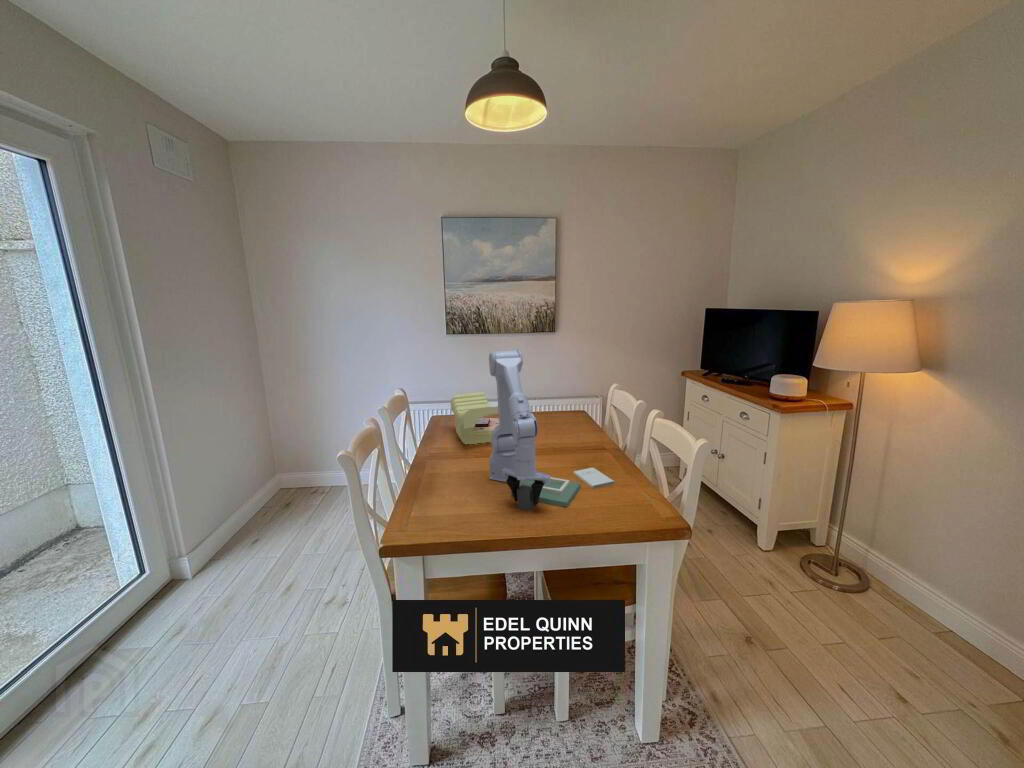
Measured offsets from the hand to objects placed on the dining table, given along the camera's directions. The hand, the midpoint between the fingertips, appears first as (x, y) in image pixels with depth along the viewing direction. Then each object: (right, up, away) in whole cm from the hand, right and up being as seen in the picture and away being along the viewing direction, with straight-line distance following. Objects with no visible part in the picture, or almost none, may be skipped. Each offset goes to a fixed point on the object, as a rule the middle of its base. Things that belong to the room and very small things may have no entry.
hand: (526, 502), depth 118 cm
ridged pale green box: (-20, +10, +61) cm, 65 cm away
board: (+7, +1, +9) cm, 11 cm away
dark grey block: (0, -1, 0) cm, 2 cm away
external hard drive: (+23, +2, +17) cm, 29 cm away
